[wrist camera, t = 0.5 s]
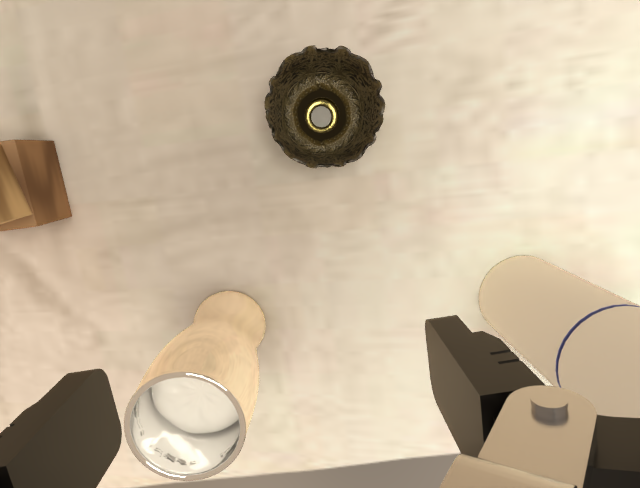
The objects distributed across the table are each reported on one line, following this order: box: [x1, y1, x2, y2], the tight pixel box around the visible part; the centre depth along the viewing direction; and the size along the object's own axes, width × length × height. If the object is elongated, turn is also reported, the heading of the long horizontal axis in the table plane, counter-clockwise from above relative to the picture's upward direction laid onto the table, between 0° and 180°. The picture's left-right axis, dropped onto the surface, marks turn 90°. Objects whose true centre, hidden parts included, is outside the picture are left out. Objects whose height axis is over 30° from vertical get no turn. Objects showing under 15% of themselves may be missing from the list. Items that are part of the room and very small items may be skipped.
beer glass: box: [124, 291, 266, 481], centre depth 32 cm, size 7×7×15 cm
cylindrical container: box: [479, 255, 640, 418], centre depth 27 cm, size 7×7×25 cm
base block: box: [0, 140, 72, 231], centre depth 34 cm, size 6×6×5 cm
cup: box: [265, 45, 385, 168], centre depth 32 cm, size 8×7×8 cm
